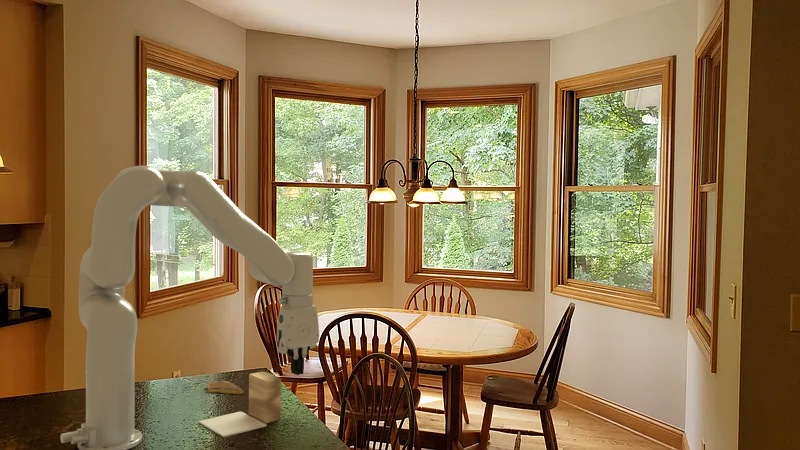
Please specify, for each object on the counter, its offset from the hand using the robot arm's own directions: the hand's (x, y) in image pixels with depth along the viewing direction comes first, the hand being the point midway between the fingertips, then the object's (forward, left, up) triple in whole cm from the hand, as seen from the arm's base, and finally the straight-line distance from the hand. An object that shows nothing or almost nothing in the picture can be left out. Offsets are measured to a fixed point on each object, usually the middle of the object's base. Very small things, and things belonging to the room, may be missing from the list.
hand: (297, 373), depth 164 cm
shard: (-5, +26, -10) cm, 28 cm away
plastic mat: (-18, 0, -9) cm, 20 cm away
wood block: (-9, 0, -9) cm, 13 cm away
